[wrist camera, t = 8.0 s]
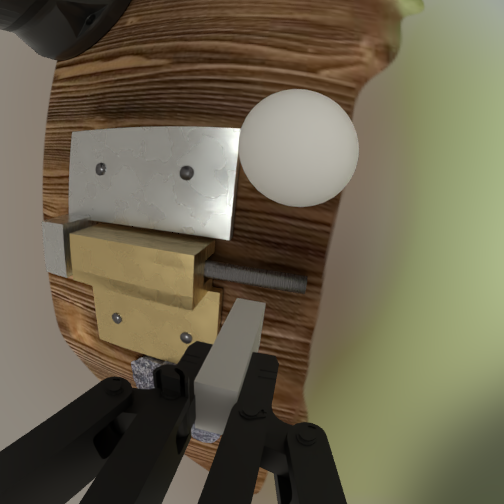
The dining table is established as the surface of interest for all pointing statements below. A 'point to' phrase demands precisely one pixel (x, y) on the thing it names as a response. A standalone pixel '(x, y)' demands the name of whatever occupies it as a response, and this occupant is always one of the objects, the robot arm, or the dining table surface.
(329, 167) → the lightbulb
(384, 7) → the dining table surface
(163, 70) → the dining table surface
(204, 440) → the rock
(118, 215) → the zinc leaf
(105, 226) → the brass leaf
